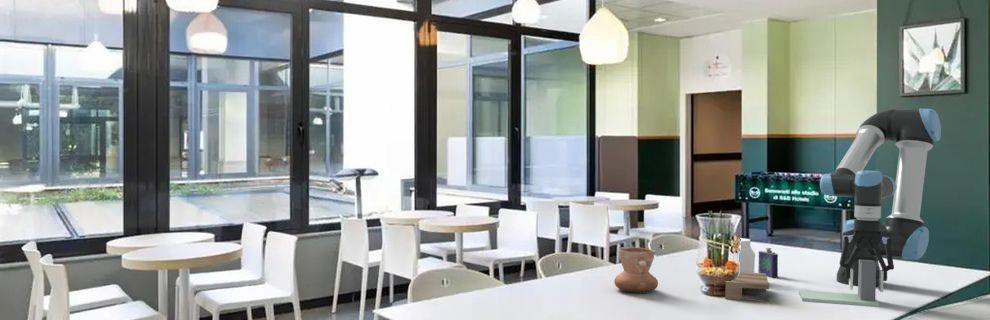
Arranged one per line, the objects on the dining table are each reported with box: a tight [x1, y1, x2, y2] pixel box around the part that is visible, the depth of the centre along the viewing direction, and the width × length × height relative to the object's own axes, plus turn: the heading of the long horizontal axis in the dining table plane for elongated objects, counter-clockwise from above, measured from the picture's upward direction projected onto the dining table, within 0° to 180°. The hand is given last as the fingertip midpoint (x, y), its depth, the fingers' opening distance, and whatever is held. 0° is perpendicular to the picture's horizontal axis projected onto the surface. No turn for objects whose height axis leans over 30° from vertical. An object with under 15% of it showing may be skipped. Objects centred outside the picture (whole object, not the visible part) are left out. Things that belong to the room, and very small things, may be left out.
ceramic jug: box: [613, 246, 659, 294], centre depth 239 cm, size 18×14×14 cm
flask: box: [757, 247, 779, 279], centre depth 268 cm, size 9×3×11 cm, turn 21°
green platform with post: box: [797, 259, 880, 308], centre depth 229 cm, size 13×22×13 cm, turn 72°
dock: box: [724, 272, 770, 302], centre depth 235 cm, size 20×13×6 cm, turn 161°
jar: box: [739, 237, 756, 273], centre depth 259 cm, size 12×10×15 cm
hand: (865, 289), depth 226 cm, fingers open, 8 cm apart
